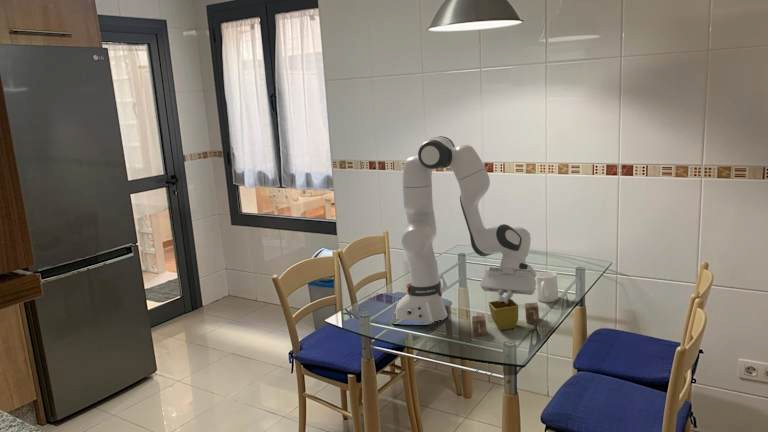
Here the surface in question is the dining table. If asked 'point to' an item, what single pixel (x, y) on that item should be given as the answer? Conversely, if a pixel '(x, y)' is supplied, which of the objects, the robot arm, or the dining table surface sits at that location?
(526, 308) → the numbered block seven
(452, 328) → the dining table surface
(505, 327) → the flower pot
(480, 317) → the numbered block one
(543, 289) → the mug
